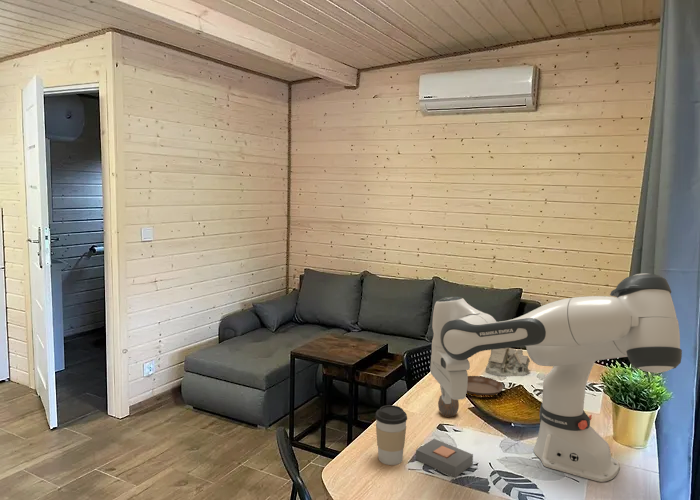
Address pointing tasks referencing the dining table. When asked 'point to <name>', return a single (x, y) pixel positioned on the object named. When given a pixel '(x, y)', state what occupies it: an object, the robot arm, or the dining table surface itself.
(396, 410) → the coffee cup
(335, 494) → the dining table surface
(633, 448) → the dining table surface
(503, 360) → the ceramic cottage
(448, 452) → the button
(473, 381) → the plant saucer
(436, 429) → the dining table surface
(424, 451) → the block
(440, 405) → the vase
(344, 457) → the dining table surface
